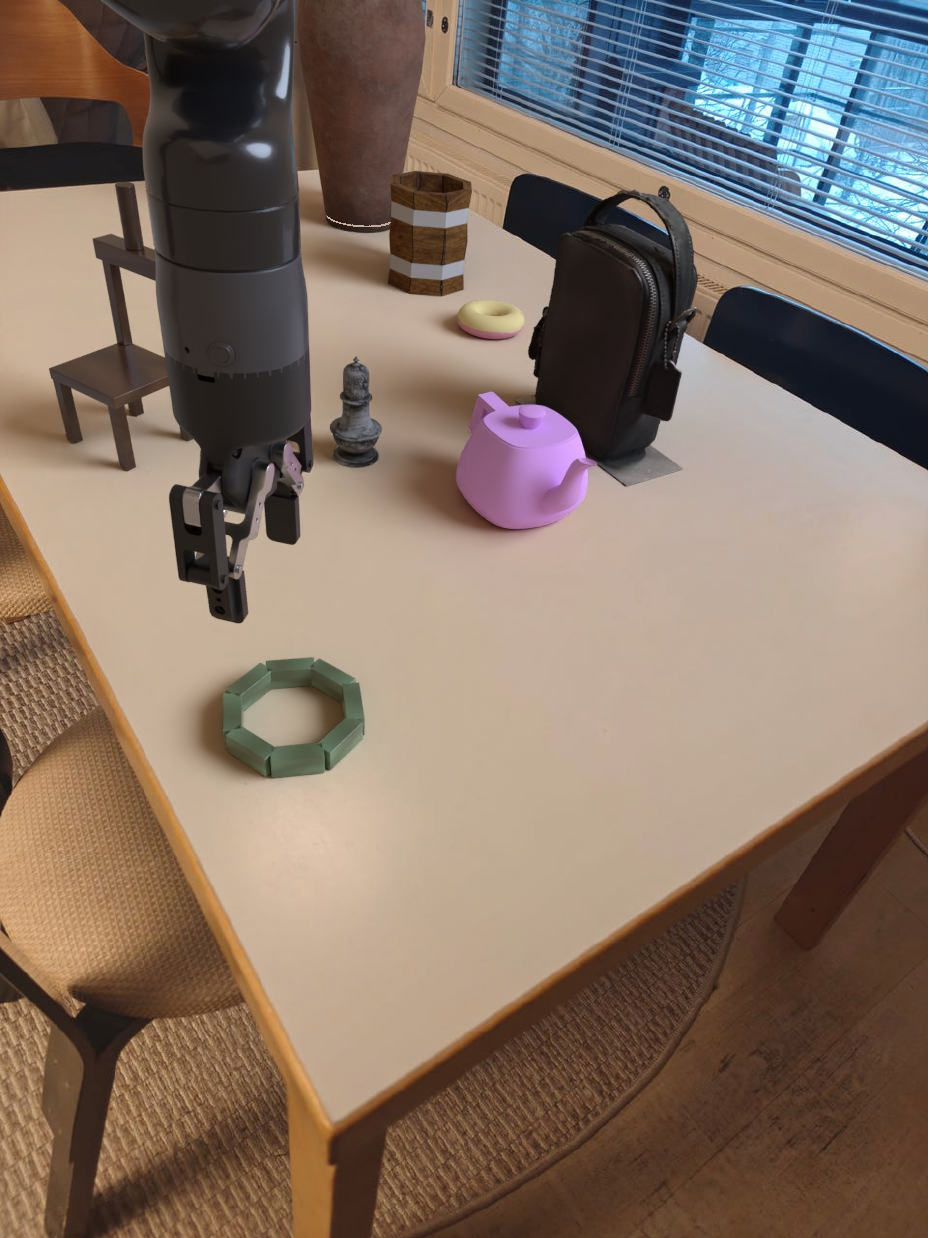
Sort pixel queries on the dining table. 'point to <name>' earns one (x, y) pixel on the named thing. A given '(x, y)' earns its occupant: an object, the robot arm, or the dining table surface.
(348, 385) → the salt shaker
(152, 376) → the chair
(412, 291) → the wooden barrel
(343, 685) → the ring
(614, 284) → the shoulder bag
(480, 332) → the donut
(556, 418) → the teapot
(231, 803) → the dining table surface
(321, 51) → the vase
